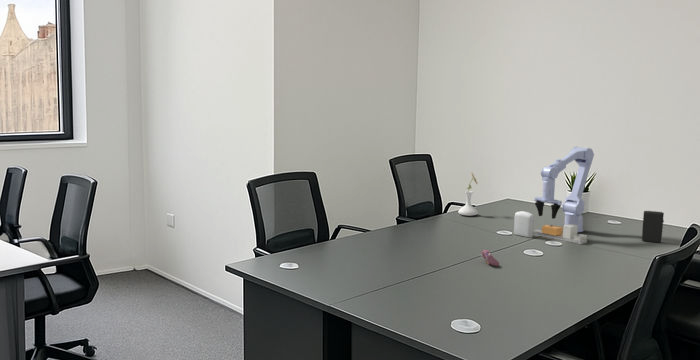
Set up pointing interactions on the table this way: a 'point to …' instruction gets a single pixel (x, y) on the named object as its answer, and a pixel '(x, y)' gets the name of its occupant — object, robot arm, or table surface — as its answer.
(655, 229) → the card reader
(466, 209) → the flower in vase
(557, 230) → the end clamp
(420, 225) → the table surface
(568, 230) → the block
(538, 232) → the mounting rail
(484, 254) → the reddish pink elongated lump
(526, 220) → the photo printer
